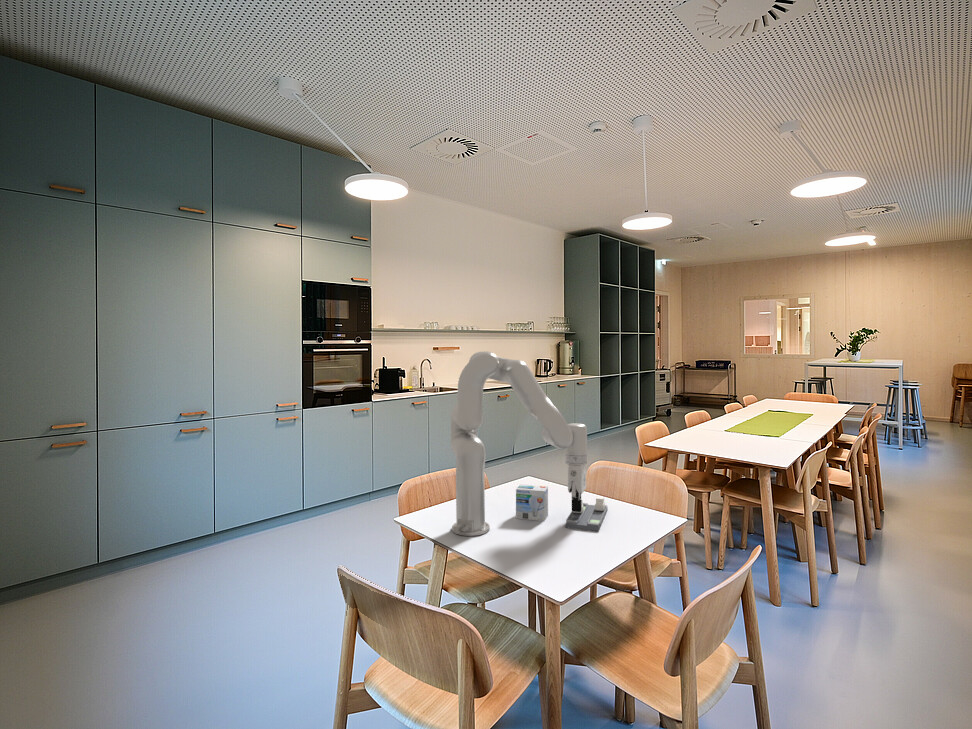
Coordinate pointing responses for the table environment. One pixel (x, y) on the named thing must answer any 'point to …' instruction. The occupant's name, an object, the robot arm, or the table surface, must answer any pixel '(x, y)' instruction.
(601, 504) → the tab
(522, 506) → the light bulb box
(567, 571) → the table surface
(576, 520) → the switch board
